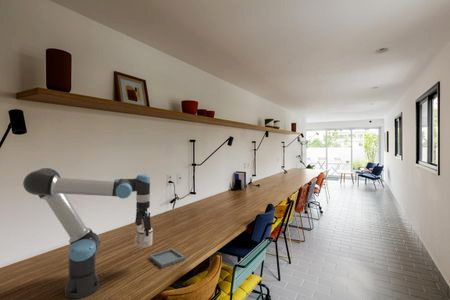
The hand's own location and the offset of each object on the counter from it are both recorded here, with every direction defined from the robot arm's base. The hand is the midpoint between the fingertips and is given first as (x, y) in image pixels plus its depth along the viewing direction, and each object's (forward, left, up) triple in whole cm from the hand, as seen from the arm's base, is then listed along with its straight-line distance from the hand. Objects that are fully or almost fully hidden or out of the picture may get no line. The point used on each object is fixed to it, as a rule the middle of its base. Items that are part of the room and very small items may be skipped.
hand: (142, 238), depth 147 cm
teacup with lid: (0, 0, -4) cm, 4 cm away
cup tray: (+17, 0, -17) cm, 24 cm away
